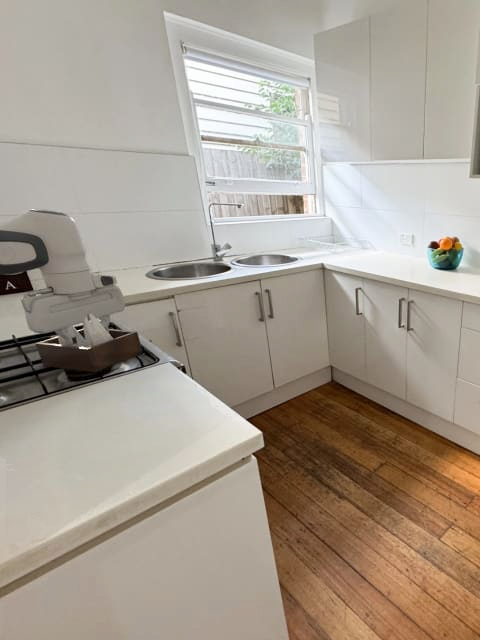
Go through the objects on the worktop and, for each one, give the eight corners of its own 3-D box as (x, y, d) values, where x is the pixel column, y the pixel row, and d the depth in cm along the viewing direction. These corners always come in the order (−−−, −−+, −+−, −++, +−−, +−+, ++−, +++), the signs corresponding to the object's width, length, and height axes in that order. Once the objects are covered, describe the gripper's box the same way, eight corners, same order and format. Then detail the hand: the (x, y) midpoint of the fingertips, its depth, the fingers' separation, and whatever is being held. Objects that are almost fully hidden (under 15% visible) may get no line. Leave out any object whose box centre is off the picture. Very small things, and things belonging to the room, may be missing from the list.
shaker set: (122, 353, 97) (110, 311, 93) (110, 359, 93) (97, 316, 89) (74, 353, 97) (60, 311, 93) (60, 359, 93) (45, 316, 89)
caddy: (95, 372, 88) (87, 349, 86) (43, 365, 91) (35, 343, 89) (143, 352, 99) (137, 331, 97) (95, 347, 103) (89, 326, 100)
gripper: (30, 293, 78) (52, 355, 83) (122, 275, 97) (135, 327, 102) (7, 292, 79) (30, 353, 84) (102, 274, 98) (116, 325, 103)
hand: (88, 338), depth 93 cm, fingers open, 6 cm apart
